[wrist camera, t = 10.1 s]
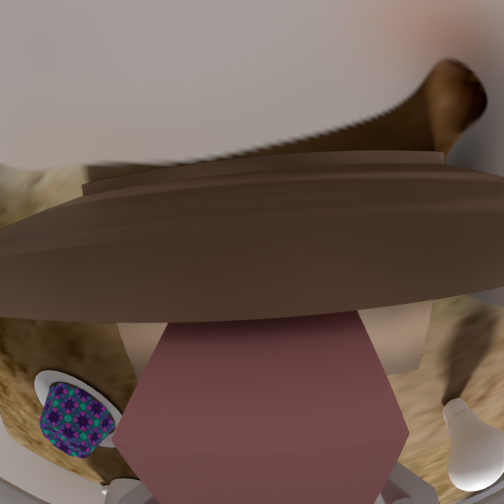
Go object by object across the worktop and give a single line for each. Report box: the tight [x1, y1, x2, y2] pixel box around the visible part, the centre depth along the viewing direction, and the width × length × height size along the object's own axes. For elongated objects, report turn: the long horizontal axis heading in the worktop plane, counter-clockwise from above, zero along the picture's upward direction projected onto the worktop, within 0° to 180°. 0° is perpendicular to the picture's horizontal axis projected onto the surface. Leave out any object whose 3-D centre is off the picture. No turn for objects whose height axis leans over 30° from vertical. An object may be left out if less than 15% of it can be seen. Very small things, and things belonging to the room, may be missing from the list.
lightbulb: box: [442, 398, 504, 491], centre depth 18 cm, size 6×6×11 cm
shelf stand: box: [0, 150, 504, 382], centre depth 13 cm, size 16×22×13 cm
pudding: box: [34, 370, 122, 458], centre depth 23 cm, size 12×12×5 cm
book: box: [111, 310, 409, 504], centre depth 9 cm, size 12×4×9 cm, turn 6°
